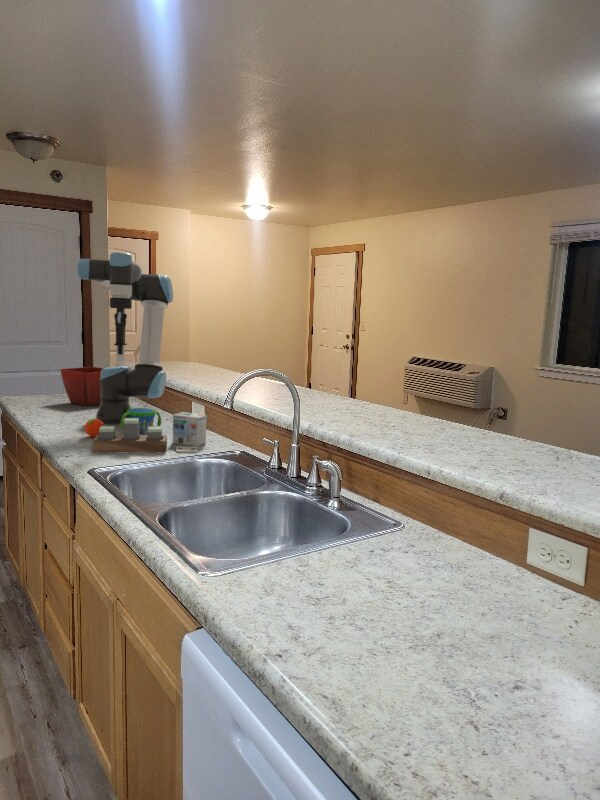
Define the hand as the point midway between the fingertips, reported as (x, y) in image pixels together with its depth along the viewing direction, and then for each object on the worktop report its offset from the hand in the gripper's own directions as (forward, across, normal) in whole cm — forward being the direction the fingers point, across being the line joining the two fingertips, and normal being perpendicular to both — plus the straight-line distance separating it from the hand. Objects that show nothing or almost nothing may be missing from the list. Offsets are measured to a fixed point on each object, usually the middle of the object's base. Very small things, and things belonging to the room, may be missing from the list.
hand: (120, 363), depth 216 cm
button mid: (+25, +14, +5) cm, 29 cm away
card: (+28, +16, +24) cm, 40 cm away
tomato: (+29, -5, -10) cm, 31 cm away
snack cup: (+29, -7, +7) cm, 30 cm away
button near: (+28, +14, -3) cm, 31 cm away
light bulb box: (+29, +4, +25) cm, 38 cm away
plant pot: (+29, -82, -23) cm, 90 cm away
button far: (+28, +14, +13) cm, 34 cm away
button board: (+28, +14, +5) cm, 32 cm away
